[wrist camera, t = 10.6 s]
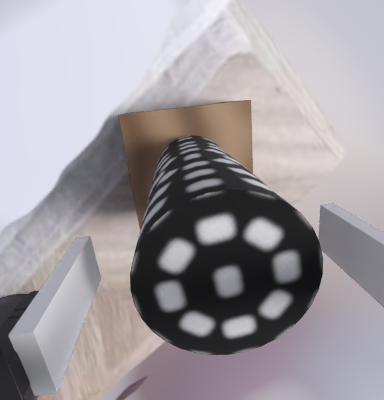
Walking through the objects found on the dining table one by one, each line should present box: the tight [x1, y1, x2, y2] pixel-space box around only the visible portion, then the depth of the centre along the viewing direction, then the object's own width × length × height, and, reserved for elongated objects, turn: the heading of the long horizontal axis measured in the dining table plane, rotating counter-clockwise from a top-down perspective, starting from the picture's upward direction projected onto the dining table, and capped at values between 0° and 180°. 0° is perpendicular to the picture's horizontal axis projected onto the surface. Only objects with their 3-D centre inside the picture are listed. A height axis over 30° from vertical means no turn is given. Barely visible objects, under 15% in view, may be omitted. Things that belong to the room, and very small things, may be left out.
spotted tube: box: [130, 135, 323, 355], centre depth 21 cm, size 8×8×20 cm
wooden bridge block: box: [118, 100, 253, 230], centre depth 34 cm, size 14×14×8 cm
